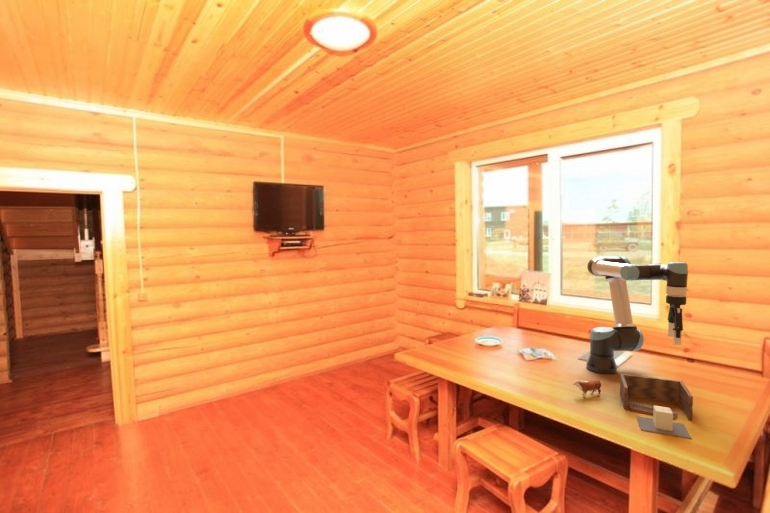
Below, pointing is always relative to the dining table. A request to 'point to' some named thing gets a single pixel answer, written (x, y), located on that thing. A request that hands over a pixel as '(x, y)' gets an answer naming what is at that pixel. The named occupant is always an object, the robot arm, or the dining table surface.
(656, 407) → the beige block
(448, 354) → the dining table surface
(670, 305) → the robot arm
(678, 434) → the grey mat
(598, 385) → the bull figurine
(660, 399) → the open box
